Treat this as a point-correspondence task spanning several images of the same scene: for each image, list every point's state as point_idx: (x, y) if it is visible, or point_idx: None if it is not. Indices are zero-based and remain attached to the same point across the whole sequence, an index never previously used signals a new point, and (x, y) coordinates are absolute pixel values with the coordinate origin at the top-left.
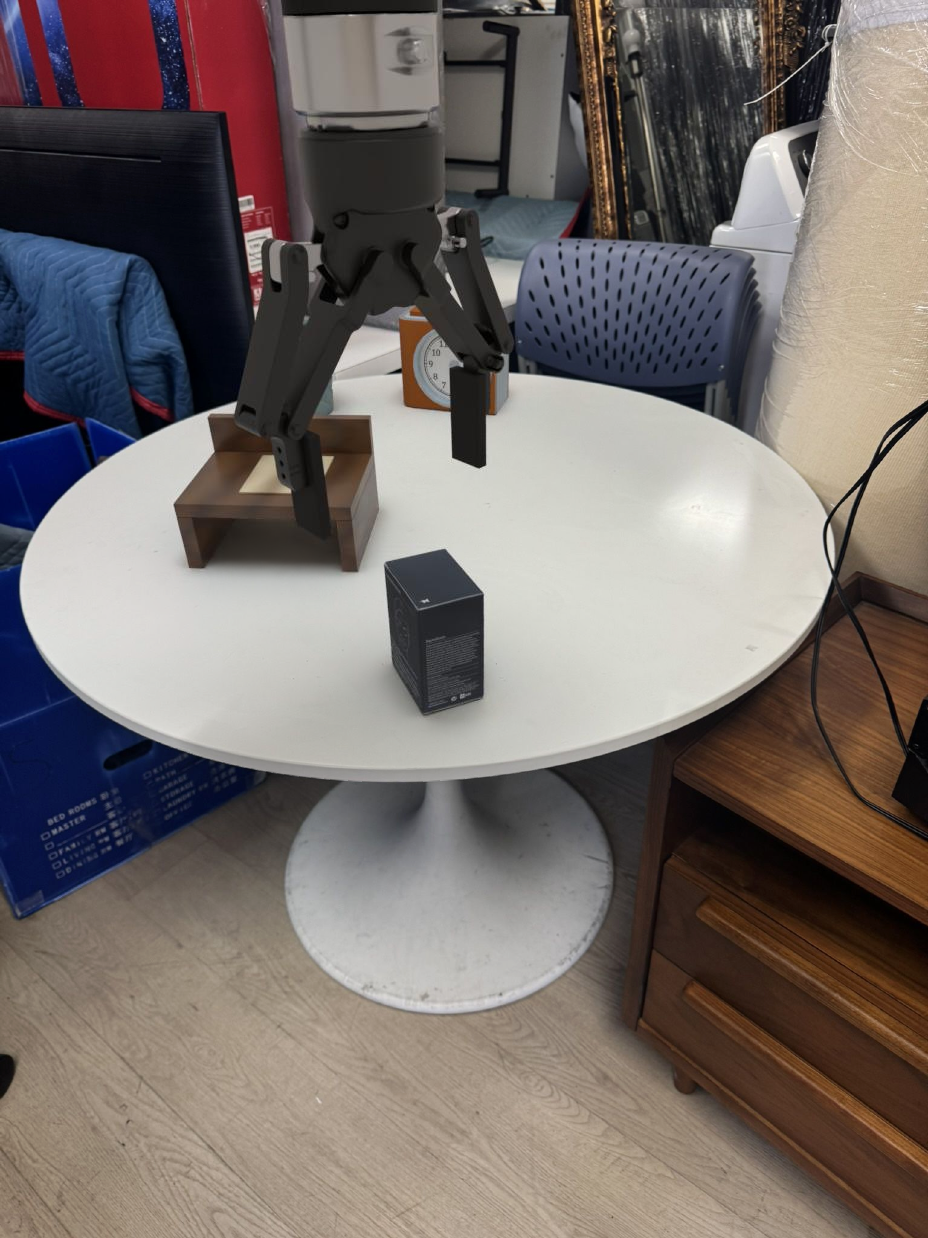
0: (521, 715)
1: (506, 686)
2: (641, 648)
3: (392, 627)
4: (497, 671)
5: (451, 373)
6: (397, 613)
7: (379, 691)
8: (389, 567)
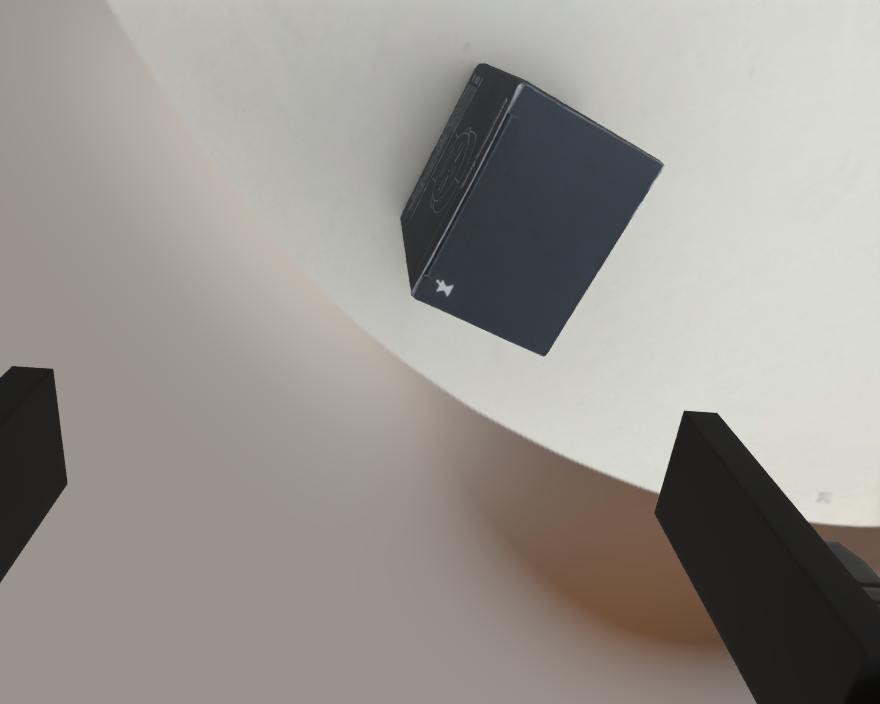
0: None
1: None
2: (750, 385)
3: (479, 96)
4: None
5: (847, 647)
6: (466, 146)
7: (400, 103)
8: (511, 114)
